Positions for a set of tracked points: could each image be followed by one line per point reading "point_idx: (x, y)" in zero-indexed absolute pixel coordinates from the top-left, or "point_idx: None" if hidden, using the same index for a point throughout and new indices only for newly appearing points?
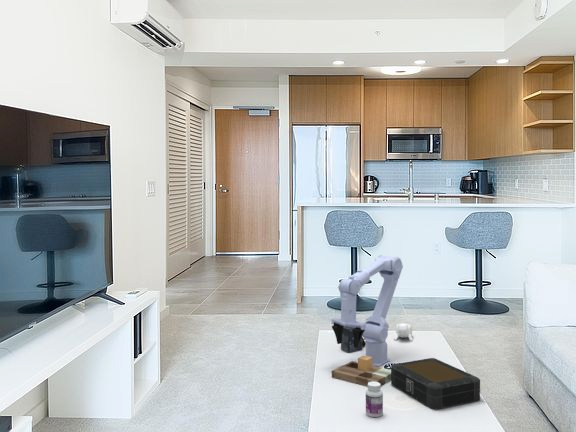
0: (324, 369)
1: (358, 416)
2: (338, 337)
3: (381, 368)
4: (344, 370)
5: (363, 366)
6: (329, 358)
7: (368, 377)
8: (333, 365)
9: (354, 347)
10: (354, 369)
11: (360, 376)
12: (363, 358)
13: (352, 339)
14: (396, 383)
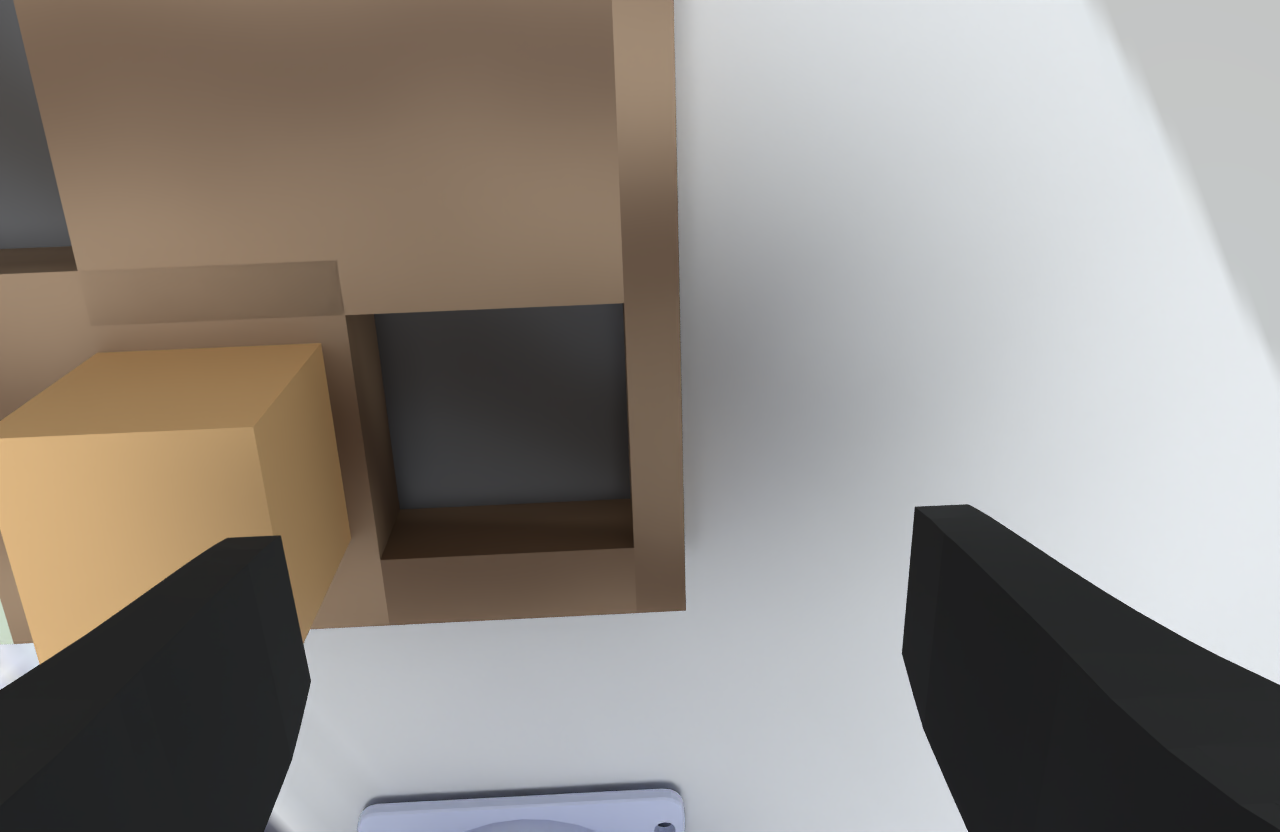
0: (1038, 150)
1: None
2: (1009, 643)
3: (4, 618)
4: (452, 49)
5: (155, 370)
6: (1238, 658)
7: (44, 251)
8: (1003, 432)
9: (264, 537)
10: (336, 251)
11: None
12: (130, 487)
13: None
14: None
